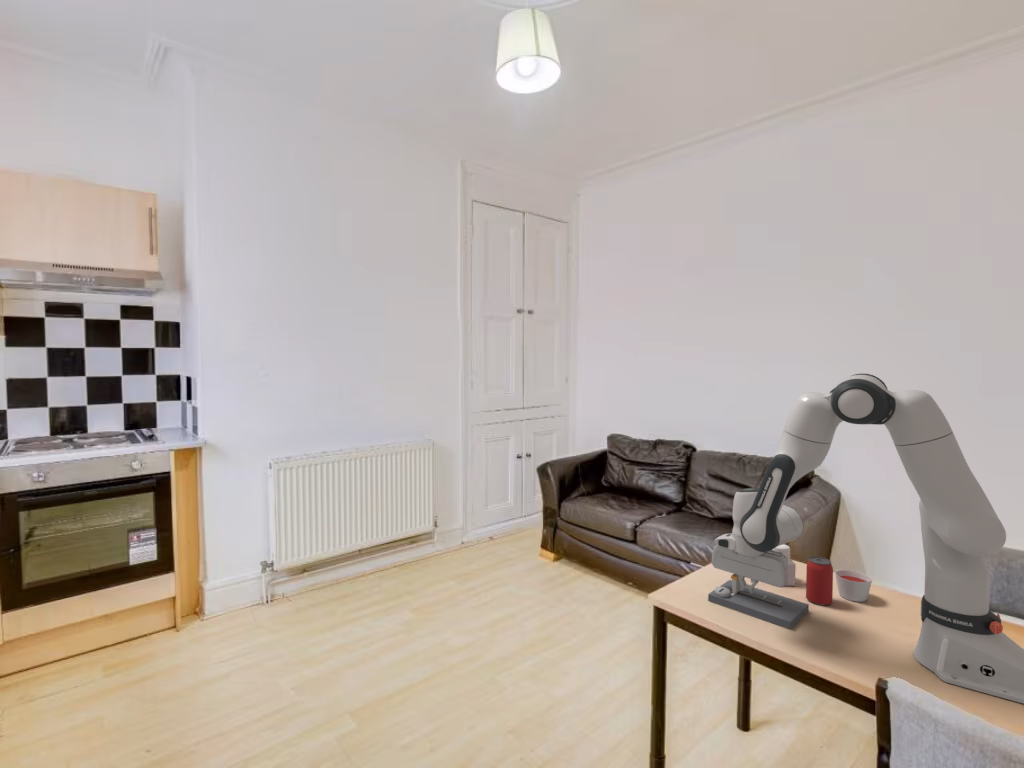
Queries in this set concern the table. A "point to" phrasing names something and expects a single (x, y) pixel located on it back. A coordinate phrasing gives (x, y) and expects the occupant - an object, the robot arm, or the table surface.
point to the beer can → (819, 581)
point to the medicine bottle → (791, 565)
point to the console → (760, 605)
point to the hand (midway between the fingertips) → (747, 591)
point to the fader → (735, 583)
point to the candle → (853, 585)
